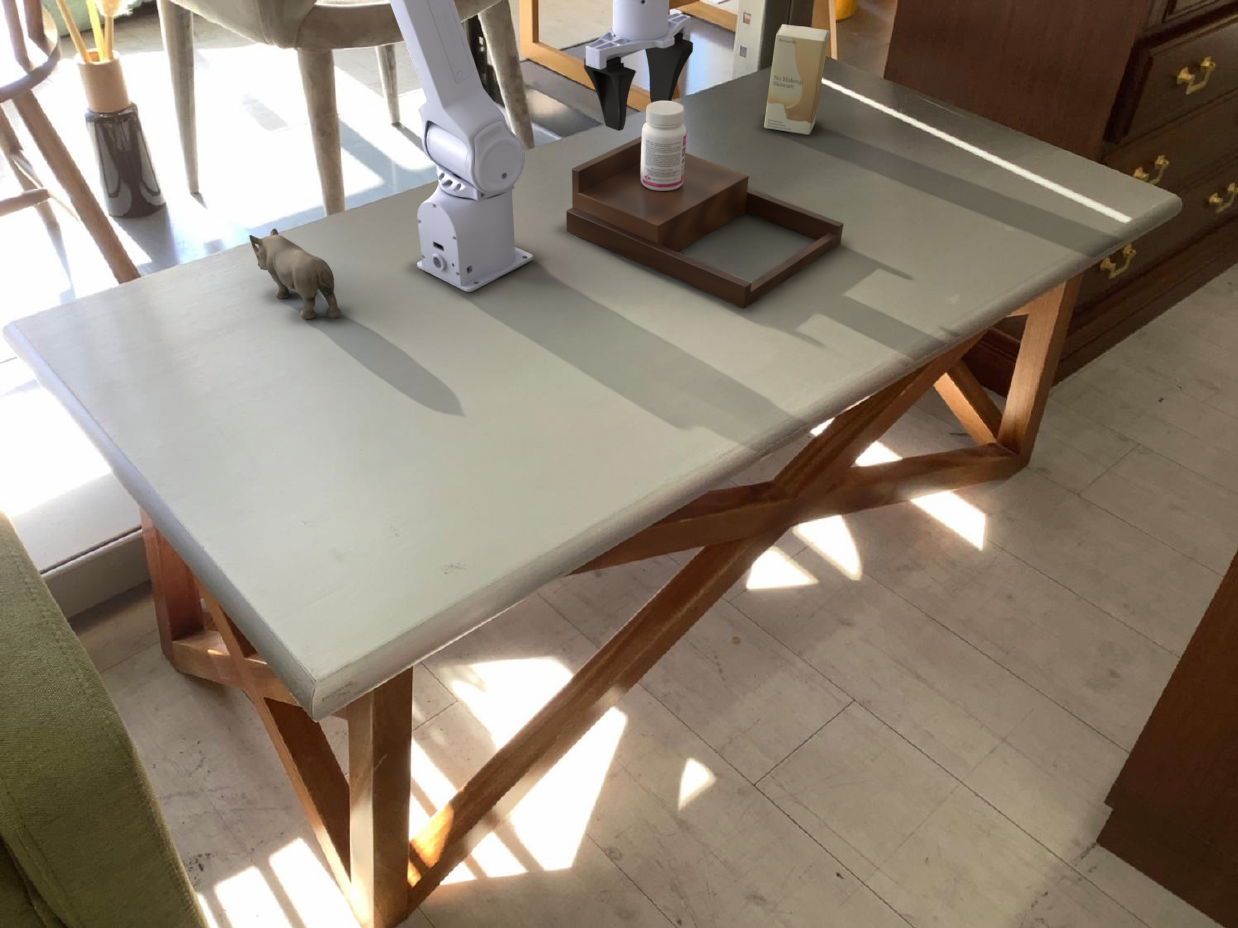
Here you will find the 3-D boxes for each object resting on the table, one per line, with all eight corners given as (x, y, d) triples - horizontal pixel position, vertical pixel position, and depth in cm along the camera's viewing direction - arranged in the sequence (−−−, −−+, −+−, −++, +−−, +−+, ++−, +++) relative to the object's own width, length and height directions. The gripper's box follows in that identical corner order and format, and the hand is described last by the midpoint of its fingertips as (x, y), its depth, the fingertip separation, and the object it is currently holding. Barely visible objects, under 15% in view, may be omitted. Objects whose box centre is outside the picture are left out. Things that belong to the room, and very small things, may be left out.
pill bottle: (690, 188, 120) (695, 113, 115) (650, 195, 119) (653, 119, 113) (673, 170, 123) (676, 96, 118) (633, 176, 122) (635, 102, 117)
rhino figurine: (277, 261, 115) (267, 209, 112) (350, 314, 108) (341, 259, 104) (242, 275, 113) (229, 221, 109) (313, 329, 106) (302, 274, 102)
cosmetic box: (763, 129, 144) (773, 33, 136) (769, 117, 147) (779, 23, 139) (812, 136, 142) (825, 40, 135) (817, 123, 146) (830, 28, 138)
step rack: (743, 308, 110) (750, 245, 105) (566, 231, 122) (565, 171, 117) (840, 244, 120) (850, 184, 116) (668, 178, 132) (671, 122, 128)
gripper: (623, 12, 105) (621, 148, 114) (716, -21, 113) (707, 108, 122) (569, -5, 109) (571, 129, 117) (663, -35, 117) (658, 91, 126)
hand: (637, 117), depth 120 cm, fingers open, 7 cm apart
